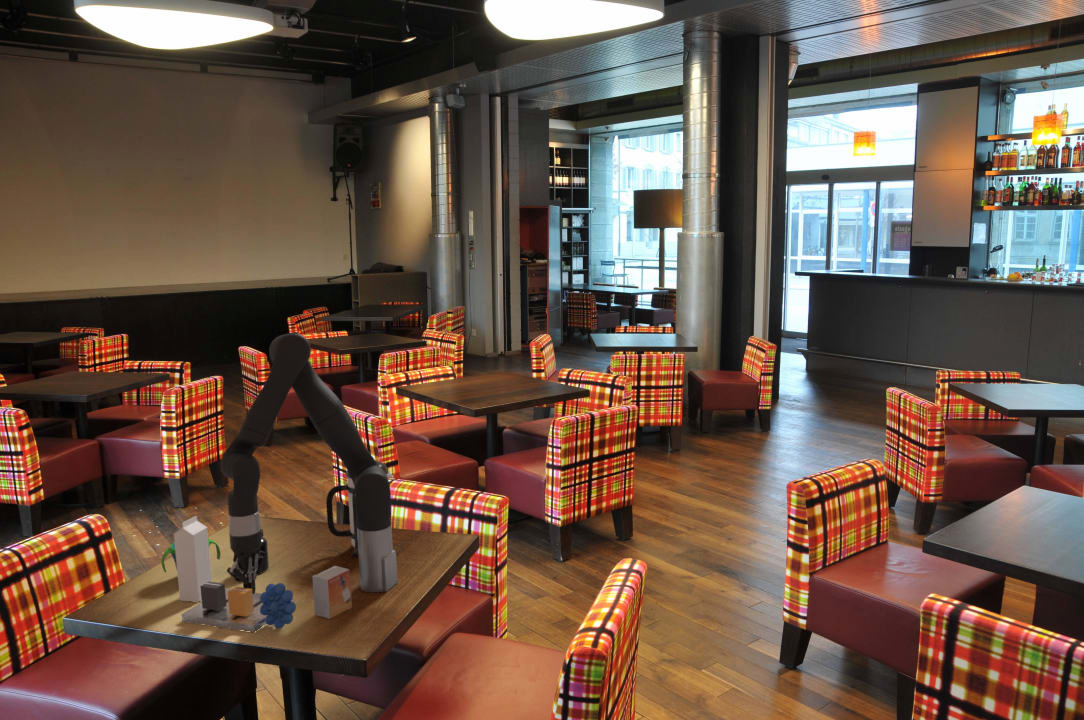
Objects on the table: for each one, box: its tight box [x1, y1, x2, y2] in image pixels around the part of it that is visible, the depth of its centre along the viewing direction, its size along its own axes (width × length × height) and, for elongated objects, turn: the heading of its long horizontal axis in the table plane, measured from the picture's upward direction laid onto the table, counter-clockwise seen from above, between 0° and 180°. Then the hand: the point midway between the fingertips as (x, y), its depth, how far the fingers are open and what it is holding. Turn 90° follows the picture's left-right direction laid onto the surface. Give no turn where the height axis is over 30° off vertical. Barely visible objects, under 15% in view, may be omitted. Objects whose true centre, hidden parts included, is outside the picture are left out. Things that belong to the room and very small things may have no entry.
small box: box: [311, 565, 353, 620], centre depth 212 cm, size 8×6×10 cm
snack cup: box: [161, 538, 221, 573], centre depth 236 cm, size 16×10×10 cm
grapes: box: [260, 582, 297, 630], centre depth 204 cm, size 12×7×12 cm, turn 61°
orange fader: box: [228, 586, 254, 617], centre depth 207 cm, size 5×3×6 cm, turn 71°
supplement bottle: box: [258, 528, 270, 573], centre depth 240 cm, size 7×7×12 cm
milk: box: [173, 515, 213, 603], centre depth 222 cm, size 6×6×22 cm
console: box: [181, 588, 295, 633], centre depth 213 cm, size 22×16×2 cm
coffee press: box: [325, 459, 394, 557], centre depth 252 cm, size 17×16×30 cm
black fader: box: [200, 581, 227, 611], centre depth 211 cm, size 5×3×6 cm, turn 71°
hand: (250, 594), depth 211 cm, fingers closed
